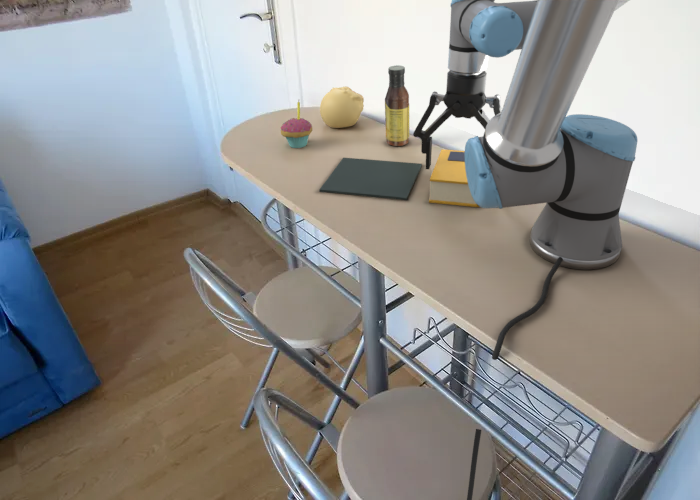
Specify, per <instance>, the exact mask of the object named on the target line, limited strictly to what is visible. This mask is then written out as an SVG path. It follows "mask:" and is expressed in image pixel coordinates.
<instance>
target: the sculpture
mask: <svg viewBox="0 0 700 500" xmlns="http://www.w3.org/2000/svg"><path fill="white" fill-rule="evenodd" d="M364 98H365V97H364V96H363V95H362V94H360V93H359V92H356V91H355V90H352V89H351V87H349V86H341V87H332V88H331V89H330V90H329V91H328V92H327V93H325V95H323V97H322V99H321V101H320V105H319V113H320V116H321V119H322V121H323V122H324V124H325V125H326V126H328V127H330V128H334V129H335V128H337V129H339V128H340V129H341V128H347V127H352V126H354V125H356V124H357V122H358V120H359V119H360V116H361V114H362V112H363V111H364V106H365V105H364V101H365V99H364Z"/></svg>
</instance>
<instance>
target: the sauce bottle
mask: <svg viewBox="0 0 700 500" xmlns="http://www.w3.org/2000/svg"><path fill="white" fill-rule="evenodd" d="M387 71H388V75H389V76H388V79H389V80H388V87H387V91H386V94H385V98H384V117H385V119H384V120H385V123H384V125H385V140H386V143H387V145H390V146H391V147H403V146H406V145H408V144H409V141H410V93H409V91H408V89H407V88H406V87H405V73H406V67H405V66H403V65H399V64H398V65H397V64H396V65H390V66H388V70H387Z"/></svg>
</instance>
